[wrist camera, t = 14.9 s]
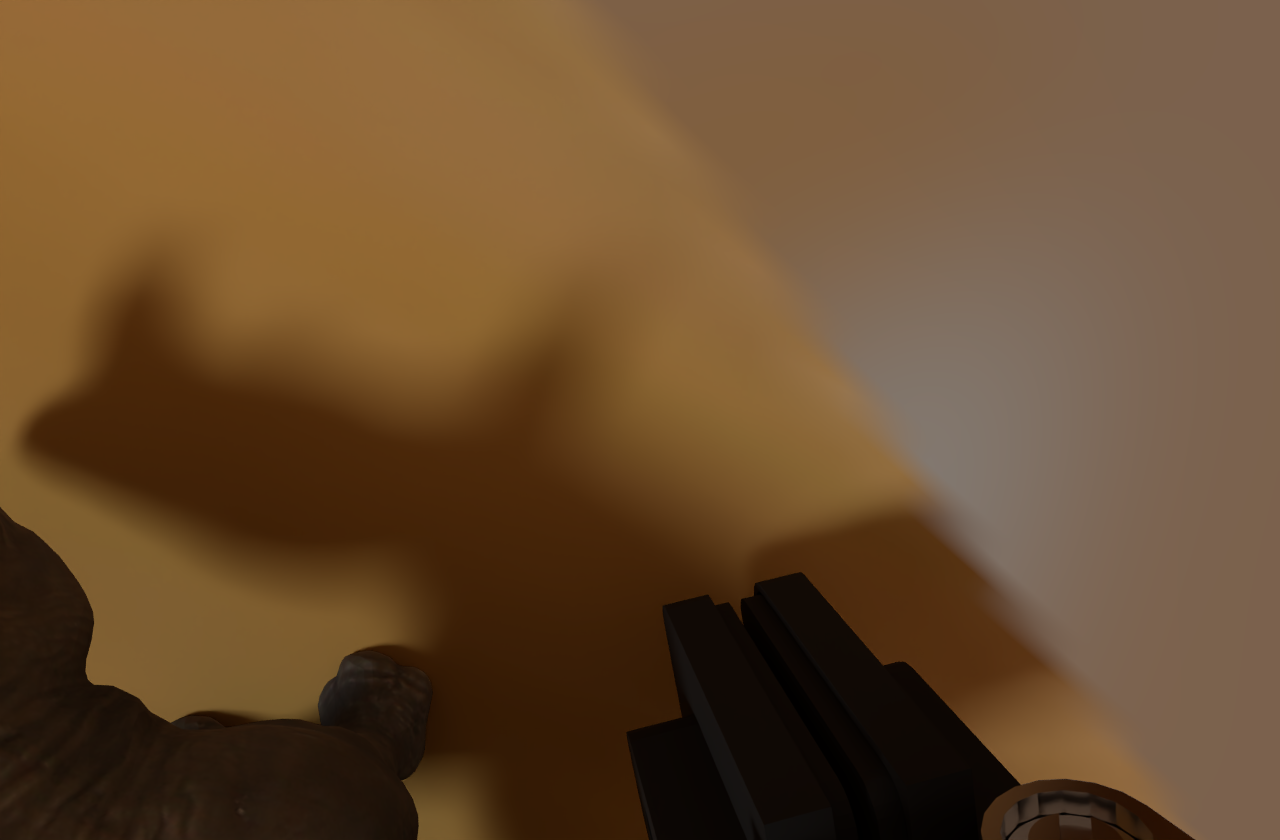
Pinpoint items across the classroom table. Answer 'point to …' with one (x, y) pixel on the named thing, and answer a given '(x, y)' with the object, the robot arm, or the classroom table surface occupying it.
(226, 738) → the rhino figurine
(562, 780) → the classroom table surface
